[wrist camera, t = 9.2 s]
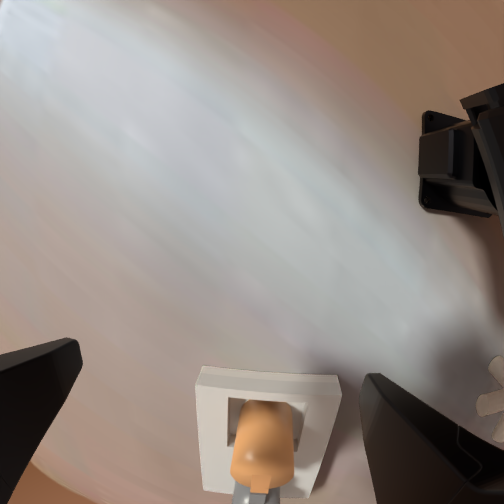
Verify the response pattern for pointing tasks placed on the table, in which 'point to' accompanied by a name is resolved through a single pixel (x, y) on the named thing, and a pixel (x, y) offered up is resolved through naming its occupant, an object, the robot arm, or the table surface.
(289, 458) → the orange rounded tapered piece
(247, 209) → the table surface
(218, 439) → the housing
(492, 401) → the pipe connector
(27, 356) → the robot arm
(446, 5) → the table surface
